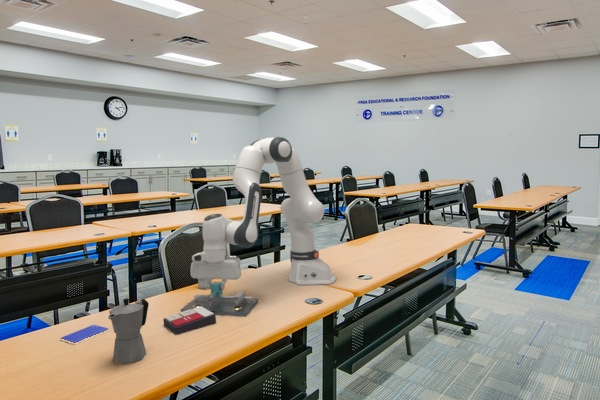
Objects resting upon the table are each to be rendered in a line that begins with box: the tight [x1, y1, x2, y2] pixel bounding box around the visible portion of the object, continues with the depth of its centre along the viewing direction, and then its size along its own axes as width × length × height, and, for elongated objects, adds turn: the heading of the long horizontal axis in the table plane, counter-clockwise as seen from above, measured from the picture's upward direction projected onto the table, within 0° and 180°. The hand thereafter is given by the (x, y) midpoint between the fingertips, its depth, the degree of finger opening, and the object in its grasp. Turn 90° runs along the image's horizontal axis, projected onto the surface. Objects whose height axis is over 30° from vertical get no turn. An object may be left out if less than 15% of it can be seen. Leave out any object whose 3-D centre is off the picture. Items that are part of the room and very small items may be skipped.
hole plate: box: [180, 290, 260, 318], centre depth 169 cm, size 26×16×6 cm, turn 79°
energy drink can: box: [197, 278, 213, 290], centre depth 195 cm, size 6×6×15 cm
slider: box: [208, 281, 224, 306], centre depth 169 cm, size 3×9×7 cm, turn 169°
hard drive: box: [60, 324, 109, 343], centre depth 145 cm, size 2×8×12 cm
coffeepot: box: [107, 298, 149, 365], centre depth 128 cm, size 15×9×18 cm, turn 159°
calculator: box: [163, 306, 217, 335], centre depth 152 cm, size 11×4×15 cm
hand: (216, 289), depth 172 cm, fingers closed on slider, 3 cm apart
